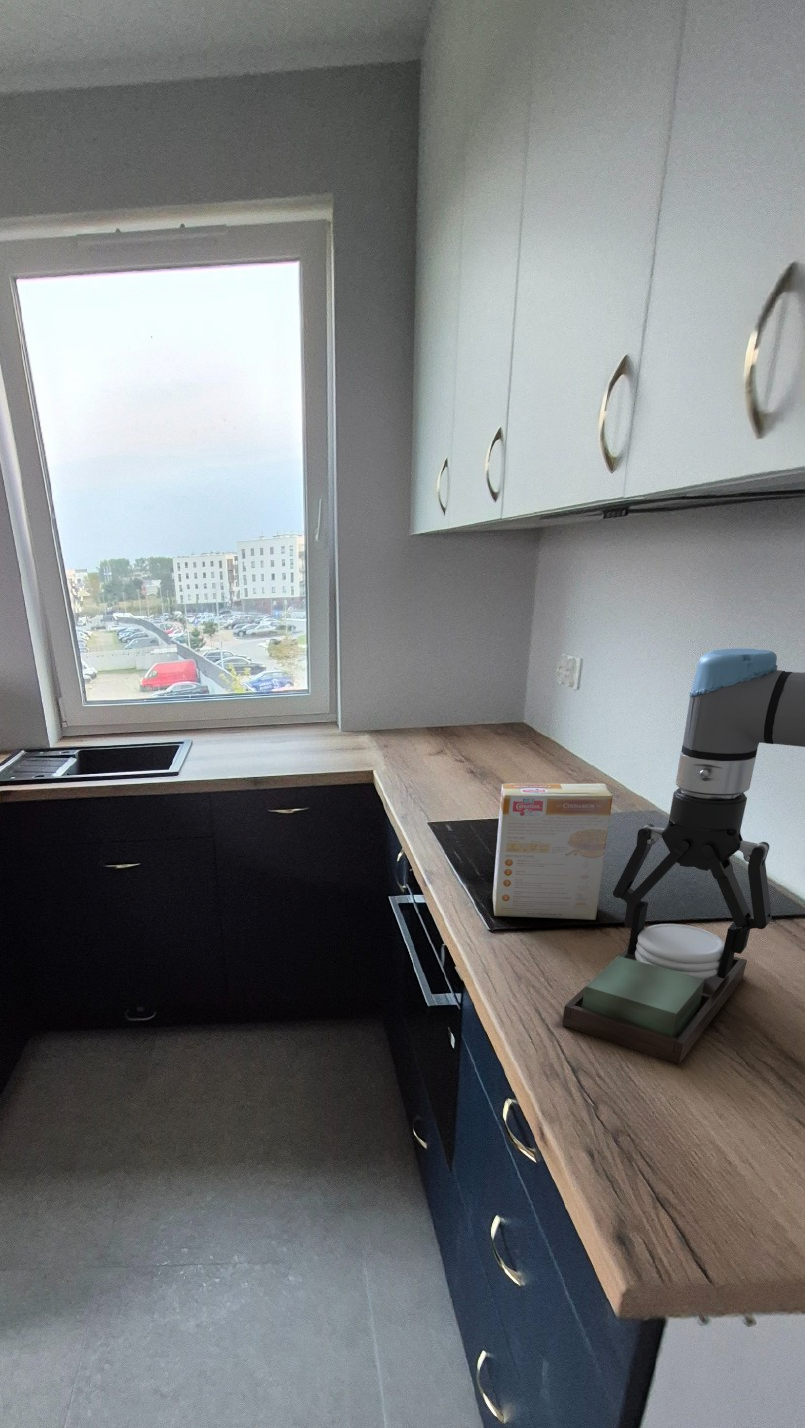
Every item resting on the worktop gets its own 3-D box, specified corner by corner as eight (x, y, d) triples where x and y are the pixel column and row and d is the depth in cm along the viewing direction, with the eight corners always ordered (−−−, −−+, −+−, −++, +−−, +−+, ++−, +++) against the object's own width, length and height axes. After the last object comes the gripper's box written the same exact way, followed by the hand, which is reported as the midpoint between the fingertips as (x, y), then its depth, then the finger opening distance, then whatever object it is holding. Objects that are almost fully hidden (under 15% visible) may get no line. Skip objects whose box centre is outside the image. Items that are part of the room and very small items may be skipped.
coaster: (625, 945, 107) (628, 921, 106) (705, 947, 105) (710, 922, 104) (647, 980, 98) (651, 955, 97) (734, 983, 96) (740, 957, 95)
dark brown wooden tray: (742, 978, 103) (751, 942, 101) (678, 1064, 87) (687, 1023, 85) (638, 950, 111) (644, 916, 109) (561, 1025, 95) (567, 987, 93)
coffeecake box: (589, 903, 127) (606, 782, 119) (596, 921, 121) (615, 795, 112) (491, 899, 130) (501, 781, 122) (493, 917, 124) (504, 794, 116)
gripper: (599, 784, 97) (577, 948, 106) (819, 814, 83) (771, 1000, 92) (622, 771, 102) (599, 929, 111) (833, 797, 88) (787, 976, 97)
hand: (677, 961), depth 102 cm, fingers closed on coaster, 10 cm apart
